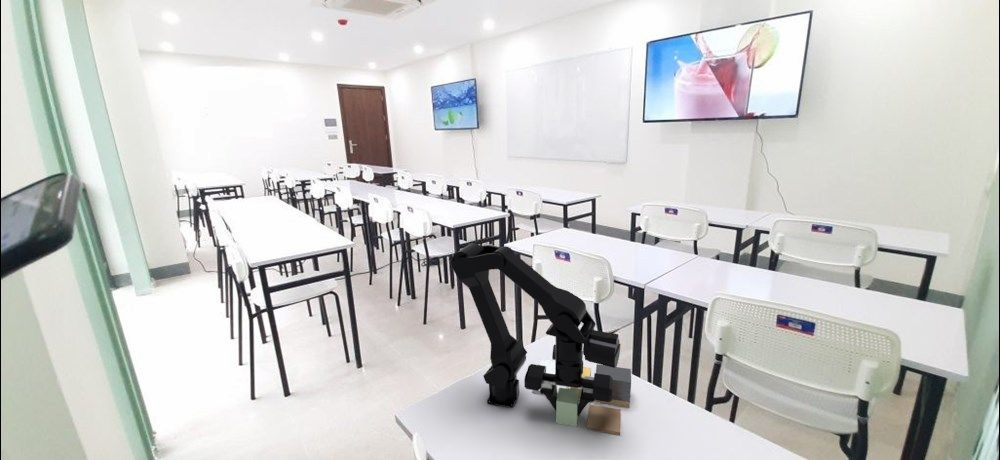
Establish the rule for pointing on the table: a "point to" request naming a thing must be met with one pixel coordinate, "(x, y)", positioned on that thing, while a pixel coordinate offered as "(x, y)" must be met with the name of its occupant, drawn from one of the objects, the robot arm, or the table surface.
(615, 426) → the walnut pad
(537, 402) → the table surface
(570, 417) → the green part
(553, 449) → the table surface
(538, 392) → the external hard drive
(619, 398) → the block
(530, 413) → the table surface
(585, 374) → the ochre part
